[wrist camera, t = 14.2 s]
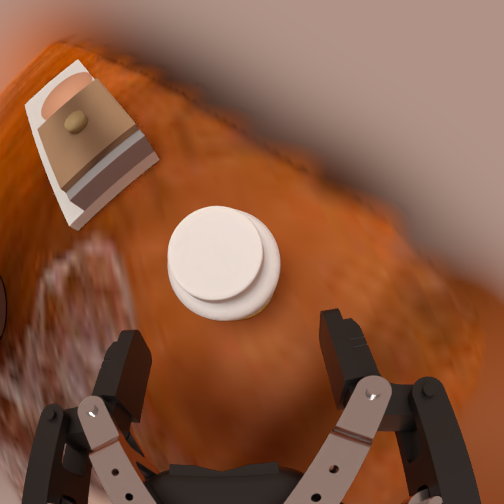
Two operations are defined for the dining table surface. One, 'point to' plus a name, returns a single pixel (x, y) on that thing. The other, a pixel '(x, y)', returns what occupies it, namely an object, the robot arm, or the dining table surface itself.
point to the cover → (84, 133)
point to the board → (104, 172)
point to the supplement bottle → (223, 263)
